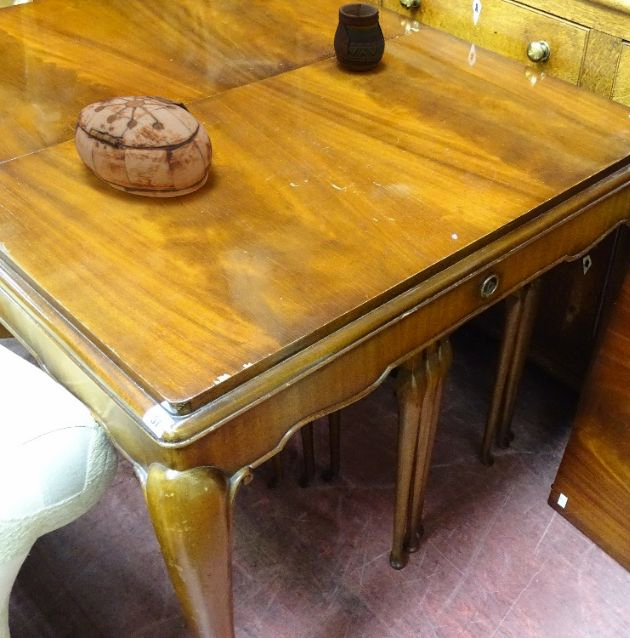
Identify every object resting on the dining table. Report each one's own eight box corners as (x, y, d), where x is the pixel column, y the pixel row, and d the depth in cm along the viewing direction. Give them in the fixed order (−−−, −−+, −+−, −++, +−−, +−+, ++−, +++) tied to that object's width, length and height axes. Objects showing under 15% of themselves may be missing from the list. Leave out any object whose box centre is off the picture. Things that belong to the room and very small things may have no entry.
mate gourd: (378, 54, 115) (379, -16, 109) (390, 74, 110) (391, 2, 103) (330, 57, 113) (328, -14, 107) (340, 77, 108) (338, 4, 101)
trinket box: (205, 206, 81) (194, 137, 76) (59, 201, 80) (38, 131, 75) (228, 146, 91) (220, 81, 86) (99, 141, 90) (83, 76, 85)
